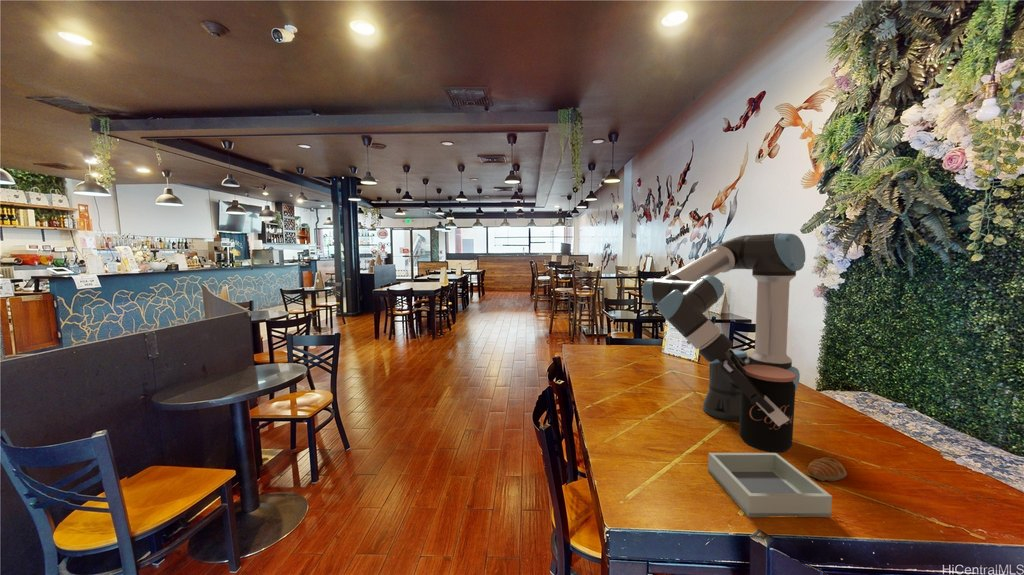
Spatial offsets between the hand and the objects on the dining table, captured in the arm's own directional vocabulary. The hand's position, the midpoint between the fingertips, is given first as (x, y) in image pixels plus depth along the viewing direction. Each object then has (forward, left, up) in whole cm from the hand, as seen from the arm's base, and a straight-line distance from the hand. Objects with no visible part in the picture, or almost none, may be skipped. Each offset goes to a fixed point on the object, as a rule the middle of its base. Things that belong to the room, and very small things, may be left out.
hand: (781, 413), depth 88 cm
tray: (+2, -1, -21) cm, 21 cm away
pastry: (-19, -9, -21) cm, 30 cm away
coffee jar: (+3, -1, -8) cm, 9 cm away
